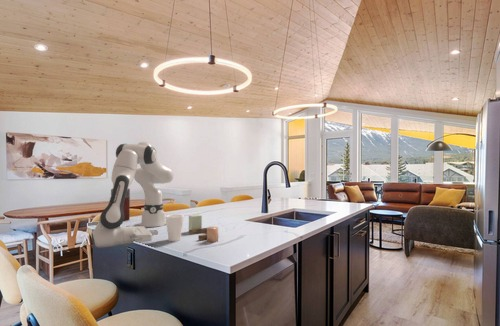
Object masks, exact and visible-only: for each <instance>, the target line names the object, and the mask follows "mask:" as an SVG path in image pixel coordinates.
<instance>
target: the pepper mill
mask: <svg viewBox="0 0 500 326" xmlns="http://www.w3.org/2000/svg"><path fill="white" fill-rule="evenodd" d="M112 191H113V188H112V189H111V190H110V195H111V194H112ZM130 194H131V188H130V187H129V188H128V190H127V193H126V197H125V200H124V205H123V211H124V221H123V222H127V221H130V215H131V214H130V211H131V210H130V208H131V207H130V206H131V205H130V204H131V203H130V201H131V199H130V198H131V195H130Z"/></svg>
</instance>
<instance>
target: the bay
mask: <svg viewBox="0 0 500 326" xmlns="http://www.w3.org/2000/svg"><path fill="white" fill-rule="evenodd" d="M203 233H204V234H203ZM205 233H206V234H205ZM196 234H197V235H198V234H199V235H198V237H197V238H198V241H204V240H206V241H207V227H202V228H201V229H192V230H189V229H188V235H196Z"/></svg>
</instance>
